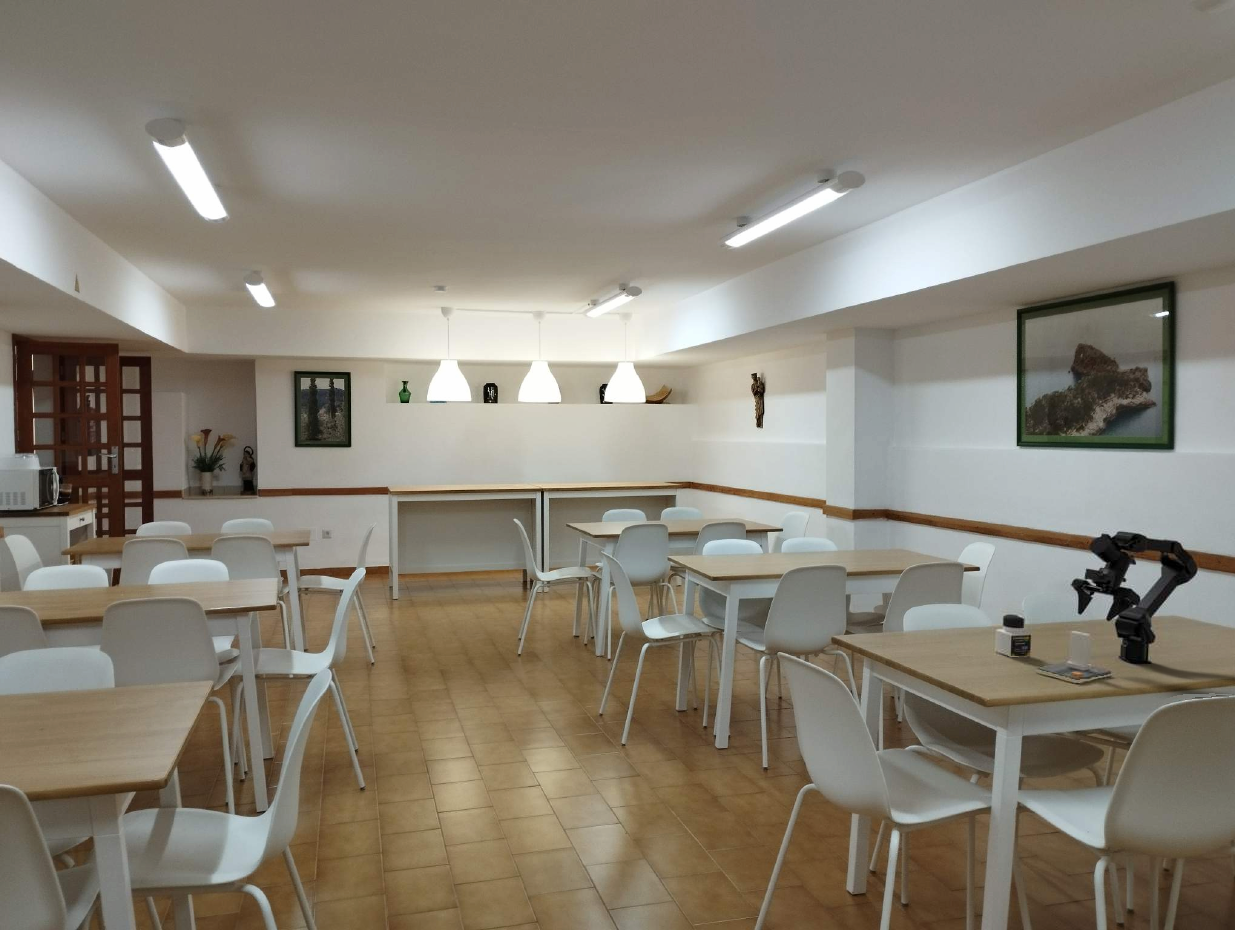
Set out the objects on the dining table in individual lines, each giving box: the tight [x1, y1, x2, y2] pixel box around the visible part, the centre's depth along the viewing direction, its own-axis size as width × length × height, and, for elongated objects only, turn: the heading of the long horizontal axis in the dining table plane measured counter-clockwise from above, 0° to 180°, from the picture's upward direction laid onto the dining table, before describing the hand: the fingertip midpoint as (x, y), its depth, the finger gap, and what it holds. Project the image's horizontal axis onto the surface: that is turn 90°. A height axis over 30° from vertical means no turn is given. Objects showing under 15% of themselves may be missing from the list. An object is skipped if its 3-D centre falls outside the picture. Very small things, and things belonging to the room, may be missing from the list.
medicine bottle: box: [994, 613, 1032, 657], centre depth 271 cm, size 7×7×12 cm
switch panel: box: [1035, 660, 1112, 680], centre depth 250 cm, size 16×12×2 cm
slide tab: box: [1065, 630, 1093, 671], centre depth 251 cm, size 4×5×10 cm
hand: (1093, 617), depth 258 cm, fingers open, 9 cm apart
